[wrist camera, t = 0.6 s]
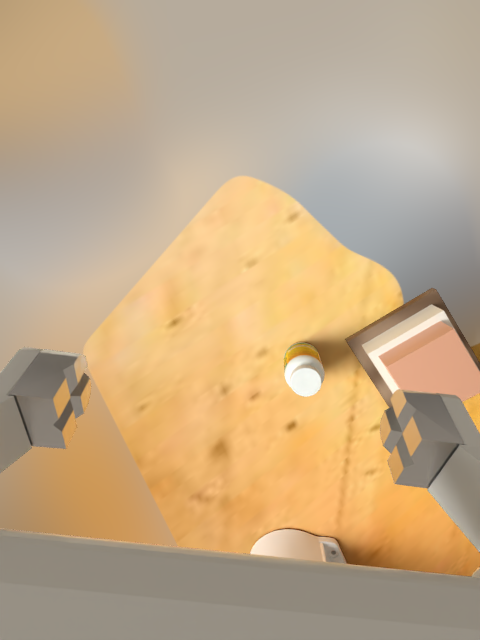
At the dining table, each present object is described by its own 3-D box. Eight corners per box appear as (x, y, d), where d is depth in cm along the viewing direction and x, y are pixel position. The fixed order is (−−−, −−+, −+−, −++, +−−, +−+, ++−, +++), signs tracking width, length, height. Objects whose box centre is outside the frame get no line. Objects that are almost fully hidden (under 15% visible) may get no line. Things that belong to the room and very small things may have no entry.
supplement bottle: (323, 368, 59) (332, 395, 49) (290, 378, 60) (292, 407, 50) (312, 336, 58) (320, 357, 48) (278, 347, 59) (279, 370, 49)
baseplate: (478, 366, 56) (484, 370, 55) (392, 412, 59) (395, 416, 58) (432, 287, 54) (436, 289, 53) (345, 339, 57) (346, 342, 56)
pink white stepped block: (469, 367, 55) (500, 390, 47) (399, 404, 57) (418, 432, 50) (431, 304, 53) (457, 317, 46) (361, 345, 56) (375, 364, 48)
